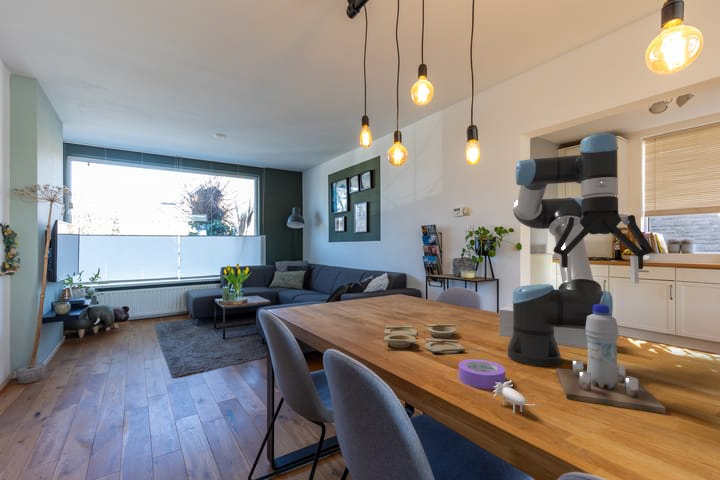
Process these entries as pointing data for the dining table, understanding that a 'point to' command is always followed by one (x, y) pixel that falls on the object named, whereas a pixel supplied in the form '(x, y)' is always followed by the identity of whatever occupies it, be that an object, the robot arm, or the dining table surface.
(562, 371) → the peg base
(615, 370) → the bottle
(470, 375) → the masking tape
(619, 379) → the pegs
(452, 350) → the tableware set
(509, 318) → the grey rectangular block
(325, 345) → the dining table surface
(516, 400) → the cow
